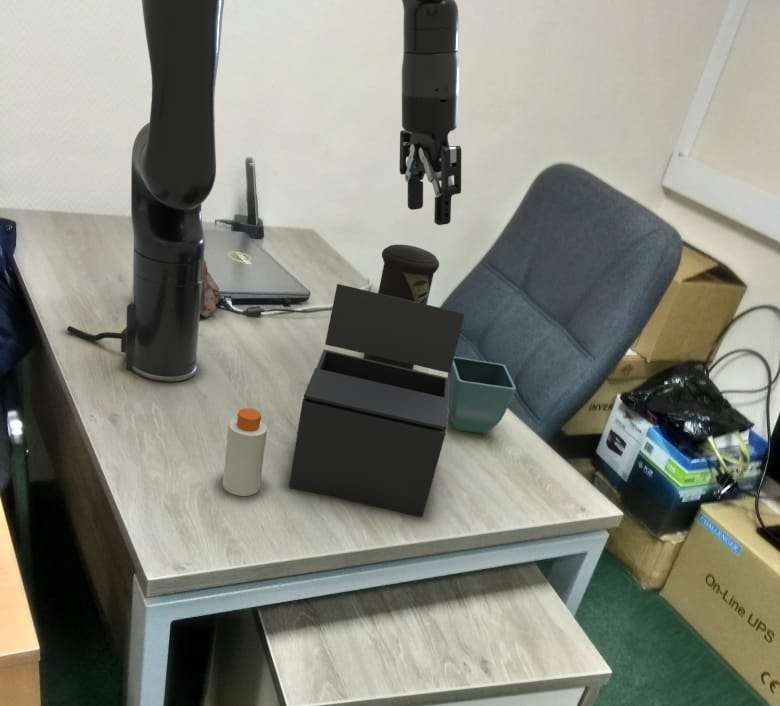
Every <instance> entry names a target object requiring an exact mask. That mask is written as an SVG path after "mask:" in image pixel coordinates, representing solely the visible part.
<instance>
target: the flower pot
mask: <svg viewBox="0 0 780 706" xmlns="http://www.w3.org/2000/svg"><path fill="white" fill-rule="evenodd" d="M446 377H447V378H449V389H448V399H449V401H448V414H449V417H450V419H451V423H452V426H453V429H454V430H456V431H461V432H469V433H476V434H484V435H485V434H488V433H489V432H490V431H492V430H493V429H494V428H495V427H496V426H497V425H498V424H499V423H500V422H501V420H502V419H503V418H504V416H505V414H506V412H507V410H508V408H509V406H510V403H511V400H512V399H513V397H514V394H515V392H516V390H517V388H516V385H515V383H514V381H513V379H512V377H511V375H510V373H509V371H508V368H507V366H506V365H505V364H503V363H497V362H492V361H484V360H478V359H472V358H465V357H459V356H454V360H453V364H452V368H451V372H450V373H447V376H446Z"/></svg>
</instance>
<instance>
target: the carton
mask: <svg viewBox="0 0 780 706" xmlns="http://www.w3.org/2000/svg"><path fill="white" fill-rule="evenodd" d="M447 377H448V376H441V375H437V374H433V373H428V372H424V371H420V370H415V369H413V370H412V369H407V368H403V367H399V366H394V365H390V364H386V363H381V362H377V361H373V360H368V359H364V357H359V356H354V355H351V354H346V353H341V352H337V351H333V350H328V349H323V351H322V353H321V355H320V357H319V360H318V363H317V365H316V367H315V368H314V369H313V372H312V375H311V377H310V379H309V382H308V384H307V387H306V388H305V391H304V394H303V399H302V400H301V401H302V402H301V408H300V412H299V413H300V414H299V419H298V426H297V433H296V440H295V445H294V451H293V459H292V465H291V470H290V477H289V483H288V488H290V489H295V490H300V491H305V492H308V493H312V494H318V495H322V496H327V497H331V498H336V499H340V500H344V501H350V502H352V503H353V502H354V503H359V504H363V505H367V506H372V507H376V508H381V509H386V510H389V511H394V512H399V513H403V514H408V515H411V516H412V515H413V516H417V517H421V518H422V517H423V516H424V513H425V509H426V506H427V502H428V498H429V496H430V495H429V494H430V492H431V489H432V484H433V481H434V478H435V474H436V470H437V466H438V462H439V459H440V455H441V452H442V448H443V445H444V441H445V437H446V433H447V428H448V414H449V409H448V401H449V399H448V389H449V378H447Z"/></svg>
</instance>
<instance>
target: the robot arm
mask: <svg viewBox="0 0 780 706" xmlns="http://www.w3.org/2000/svg"><path fill="white" fill-rule="evenodd" d="M401 2H402V10H403V19H402V20H403V21H402V26H403V27H402V28H403V30H402V32H403V34H402V35H403V36H402V39H403V42H402V43H403V47H402V48H403V49H402V50H403V51H402V53H403V54H402V64H401V127H402V129H403V130H400V131H399V174H400V175H401V176H402V175H403V176H404V180H405V183H407V208H408V209H409V210H411V211H415V210H420V209H422V208H423V207H424V181H423V180H424V178H425V174H426V178H427V181H428V182H429V183H431V184H432V187H433V192H434V195H435V196H434V215H433V216H434V218H433V219H434V223H435V224H436V225H437V226H444V225H449V224H450V223H451V220H452V219H451V218H452V217H451V216H452V197H453V196H455V195H459V194H461V192H462V147H461V146H460V145H450V142H449V134H450V133H451V132H452V131H454V130H456V128H457V127H458V123H459V122H458V119H459V118H458V116H459V90H460V89H459V88H460V85H459V84H460V83H459V82H460V66H459V54H458V53H459V52H458V50H459V22H460V21H459V19H460V18H459V9H458V8H459V7H458V4H457V2H456V0H401ZM224 6H225V0H141V7H142V16H143V21H144V22H143V23H144V24H143V25H144V32H145V38H146V45H147V50H148V51H147V52H148V58H149V65H150V75H151V101H150V105H151V106H150V112H149V113H150V114H149V116H150V117H149V122H147V123H146V124H145V125H143V127H141V129H140V130H139V131H138V133H137V134H136V137H135V138H134V142H133V144H132V145H133V146H132V151H131V152H132V153H131V167H130V169H131V170H130V171H131V173H130V175H131V177H130V179H131V181H130V182H131V184H130V185H131V186H130V187H131V188H130V196H131V197H130V212H131V213H130V214H131V215H130V216H131V217H130V218H131V225H132V231H133V252H132V254H133V257H132V295H131V296H132V298H131V299H132V300H131V301H130V302H129V303H128V304H127V306H126V326H125V328H124V329H123V330H122V331H121V332H114V331H113V332H110V331H107V332H106V331H105V332H100V333H98V334H90V333H88V332H85V331H83V330H80V329H78V328H75V327H73V326H71V325H68V327H67V328H66V330H67V332H69V333H72V334H74V335H75V336H77V337H80V338H83V339H85V340H88V341H93V342H97V341H101V340H103V339H118V340H120V352H121V353H123V354H125V369H127V370H131V371H133V372H134V373H136V374H137V375H138V376H141V377H143V378H146V379H148V380H154V381H159V382H180V381H181V382H182V381H185V380H188V379H191V378H192V377H194V376H195V375H196V373H197V367H198V366H197V365H198V364H197V361H198V345H199V330H200V318H201V317H200V316H201V314H200V305H201V292H202V277H203V264H204V260H205V248H206V236H205V231H204V226H203V217H202V204H203V203H204V202H205V201H206V200H207V198H208V196H210V194H211V192H212V190H213V189H214V185H215V181H216V178H217V177H216V176H217V153H216V152H217V151H216V123H215V122H216V121H215V120H216V118H215V94H216V84H217V83H216V82H217V74H218V67H219V57H220V51H221V50H220V49H221V39H222V27H223V18H224V17H223V16H224ZM452 177H453V178H452Z"/></svg>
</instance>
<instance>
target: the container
mask: <svg viewBox="0 0 780 706" xmlns="http://www.w3.org/2000/svg"><path fill="white" fill-rule="evenodd" d="M381 258H382V261H383V267H382V272H381V277H380V282H379V286H378V291H377V293H379V294H383V295H388V296H392V297H396V298H401V299H405V300H409V301H414V302H418V303H422V304H426V305H428V300H429V297H430V292H431V287H432V284H433V280H434V274H435V273H436V272H437V271H438V270H439V268H440V261H439V259H438V258H437V256H436V255H435V254H433V253H432V252H430V251H429V250H426V249H423V248H421V247H418V246H415V245H408V244H391V245H388V246H387V247H385V248H383V250H382V252H381ZM363 358H364V359H368V360H373V361H377V362H381V363H386V364H390V365H394V366H399V367H403V368H407V369H412V370H414V366H415V365H412V364H408V363H403V362H399V361H395V360H390V359H386V358H382V357H377V356H373V355H369V354H364V353H363Z"/></svg>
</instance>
